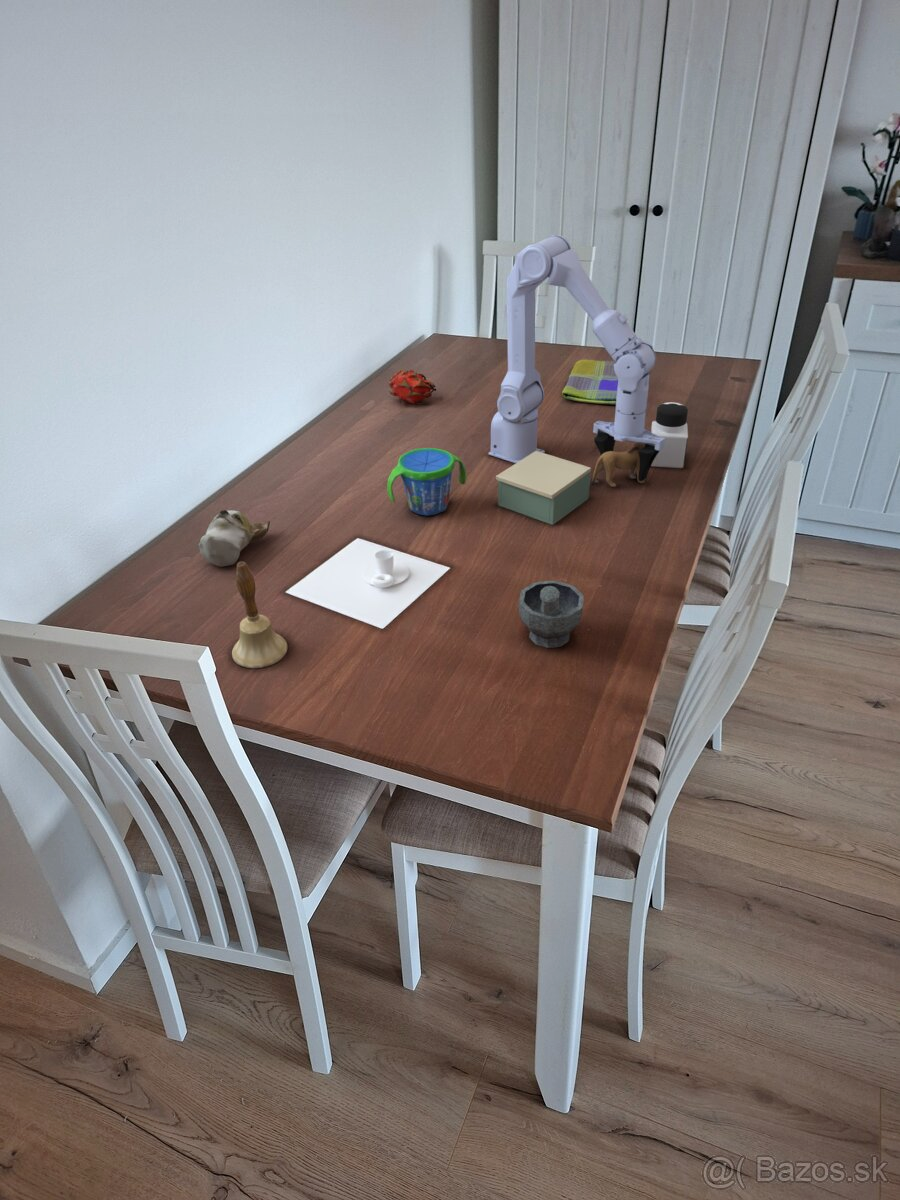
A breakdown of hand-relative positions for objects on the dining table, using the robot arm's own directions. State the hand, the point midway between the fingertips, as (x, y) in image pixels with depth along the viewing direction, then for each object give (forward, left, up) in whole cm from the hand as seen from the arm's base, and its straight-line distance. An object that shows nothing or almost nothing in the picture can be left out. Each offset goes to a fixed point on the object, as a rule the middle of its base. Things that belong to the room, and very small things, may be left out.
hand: (624, 473), depth 169 cm
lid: (-8, -17, +4) cm, 19 cm away
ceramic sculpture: (-43, -65, -2) cm, 77 cm away
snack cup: (-25, -32, -2) cm, 40 cm away
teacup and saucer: (-17, -57, -2) cm, 59 cm away
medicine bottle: (+2, +13, -2) cm, 14 cm away
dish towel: (-30, +41, -2) cm, 51 cm away
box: (-8, -17, -2) cm, 19 cm away
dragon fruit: (-62, +6, -2) cm, 62 cm away
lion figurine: (0, 0, -2) cm, 2 cm away
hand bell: (-17, -81, -2) cm, 82 cm away
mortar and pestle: (+16, -52, -2) cm, 54 cm away
